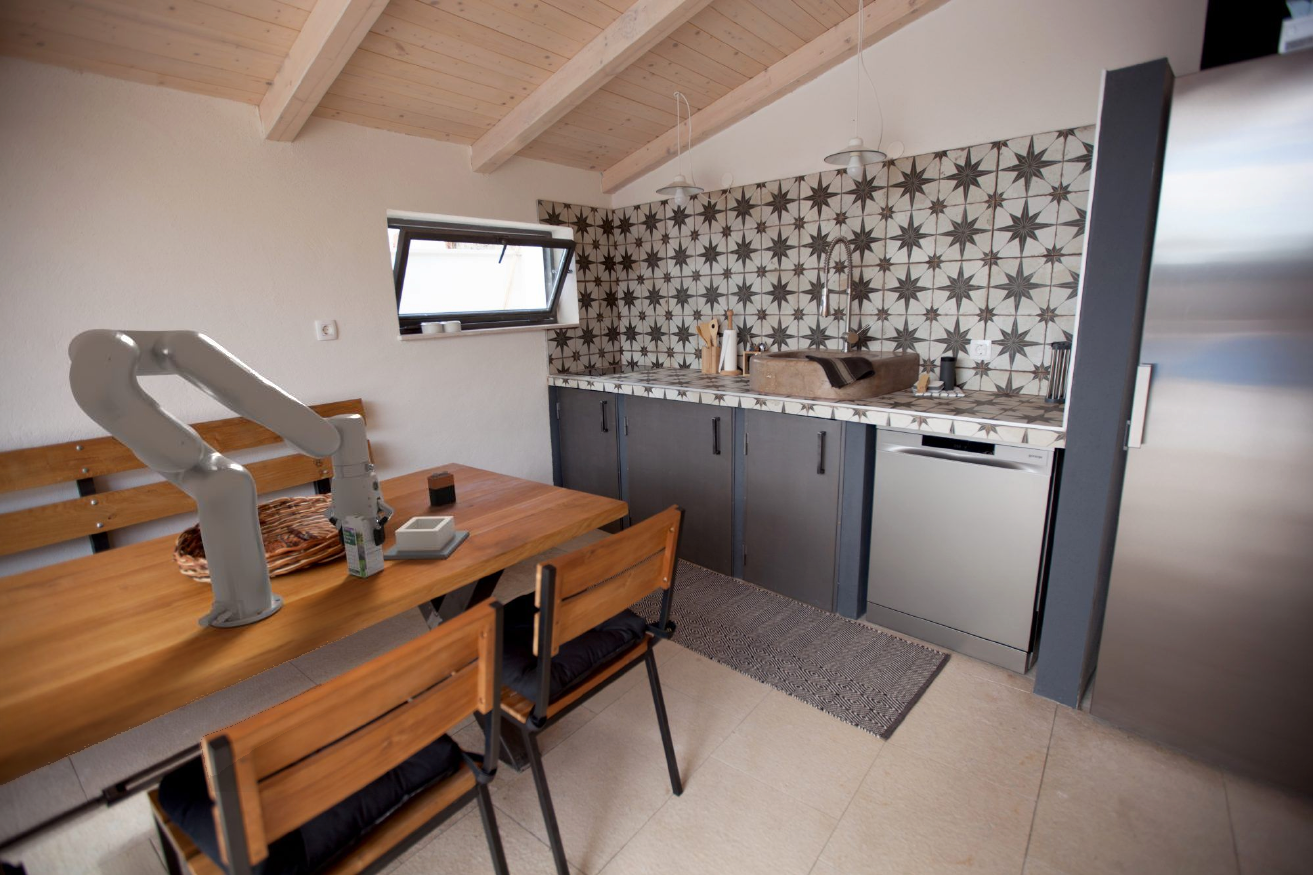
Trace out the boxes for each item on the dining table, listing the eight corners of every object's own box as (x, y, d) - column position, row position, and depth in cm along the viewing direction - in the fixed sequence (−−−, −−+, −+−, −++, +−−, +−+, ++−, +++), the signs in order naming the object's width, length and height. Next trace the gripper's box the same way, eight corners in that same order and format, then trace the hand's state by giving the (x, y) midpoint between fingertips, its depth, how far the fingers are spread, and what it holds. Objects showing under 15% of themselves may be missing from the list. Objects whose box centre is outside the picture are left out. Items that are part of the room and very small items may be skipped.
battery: (429, 504, 189) (426, 473, 187) (450, 499, 194) (446, 468, 192) (436, 507, 186) (433, 475, 184) (457, 501, 191) (453, 470, 189)
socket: (446, 558, 147) (443, 534, 146) (382, 559, 148) (378, 535, 147) (469, 533, 163) (467, 512, 161) (411, 534, 163) (408, 513, 162)
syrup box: (347, 574, 140) (338, 514, 137) (370, 564, 145) (361, 506, 142) (364, 578, 137) (355, 517, 134) (386, 568, 142) (378, 509, 139)
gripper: (398, 464, 139) (407, 537, 143) (324, 466, 140) (336, 538, 144) (382, 473, 132) (392, 550, 135) (304, 475, 133) (317, 551, 136)
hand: (363, 543), depth 140 cm, fingers closed on syrup box, 7 cm apart
